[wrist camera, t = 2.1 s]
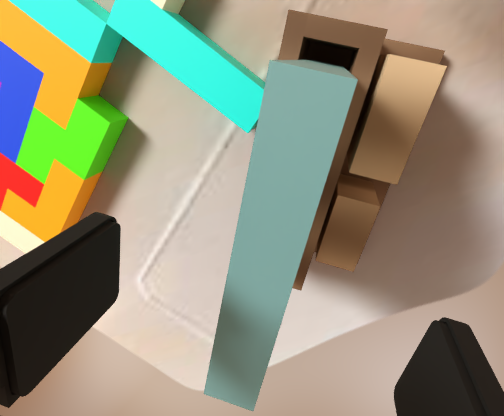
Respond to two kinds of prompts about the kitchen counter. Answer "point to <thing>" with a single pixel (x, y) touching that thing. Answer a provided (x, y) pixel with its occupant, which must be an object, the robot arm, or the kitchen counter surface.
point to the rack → (362, 67)
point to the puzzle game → (88, 99)
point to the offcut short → (347, 222)
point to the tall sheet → (276, 217)
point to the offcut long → (392, 116)
